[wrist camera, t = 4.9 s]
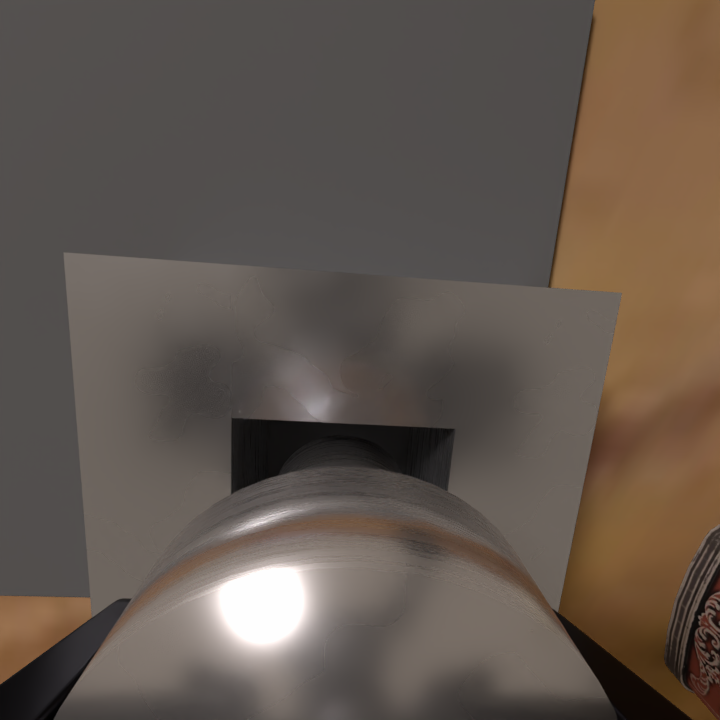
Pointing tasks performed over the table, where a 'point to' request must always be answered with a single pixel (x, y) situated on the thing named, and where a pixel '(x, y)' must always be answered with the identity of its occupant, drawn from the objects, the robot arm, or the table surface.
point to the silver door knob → (338, 610)
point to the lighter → (698, 626)
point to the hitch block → (325, 394)
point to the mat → (257, 182)
